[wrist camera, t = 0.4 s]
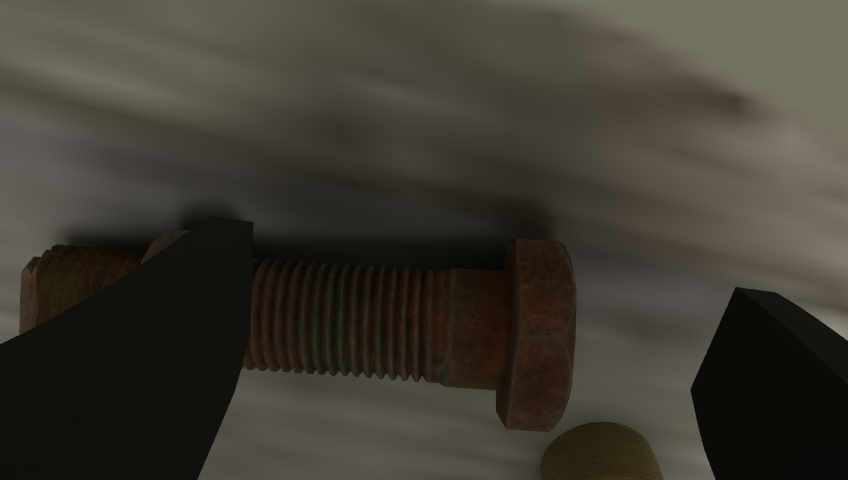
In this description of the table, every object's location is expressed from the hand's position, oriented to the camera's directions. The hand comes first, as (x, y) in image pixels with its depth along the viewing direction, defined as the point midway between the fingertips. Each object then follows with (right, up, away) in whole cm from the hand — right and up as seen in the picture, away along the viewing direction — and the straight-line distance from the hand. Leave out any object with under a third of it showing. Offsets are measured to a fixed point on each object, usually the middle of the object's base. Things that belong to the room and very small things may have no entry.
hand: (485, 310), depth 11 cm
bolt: (-5, 0, +12) cm, 13 cm away
